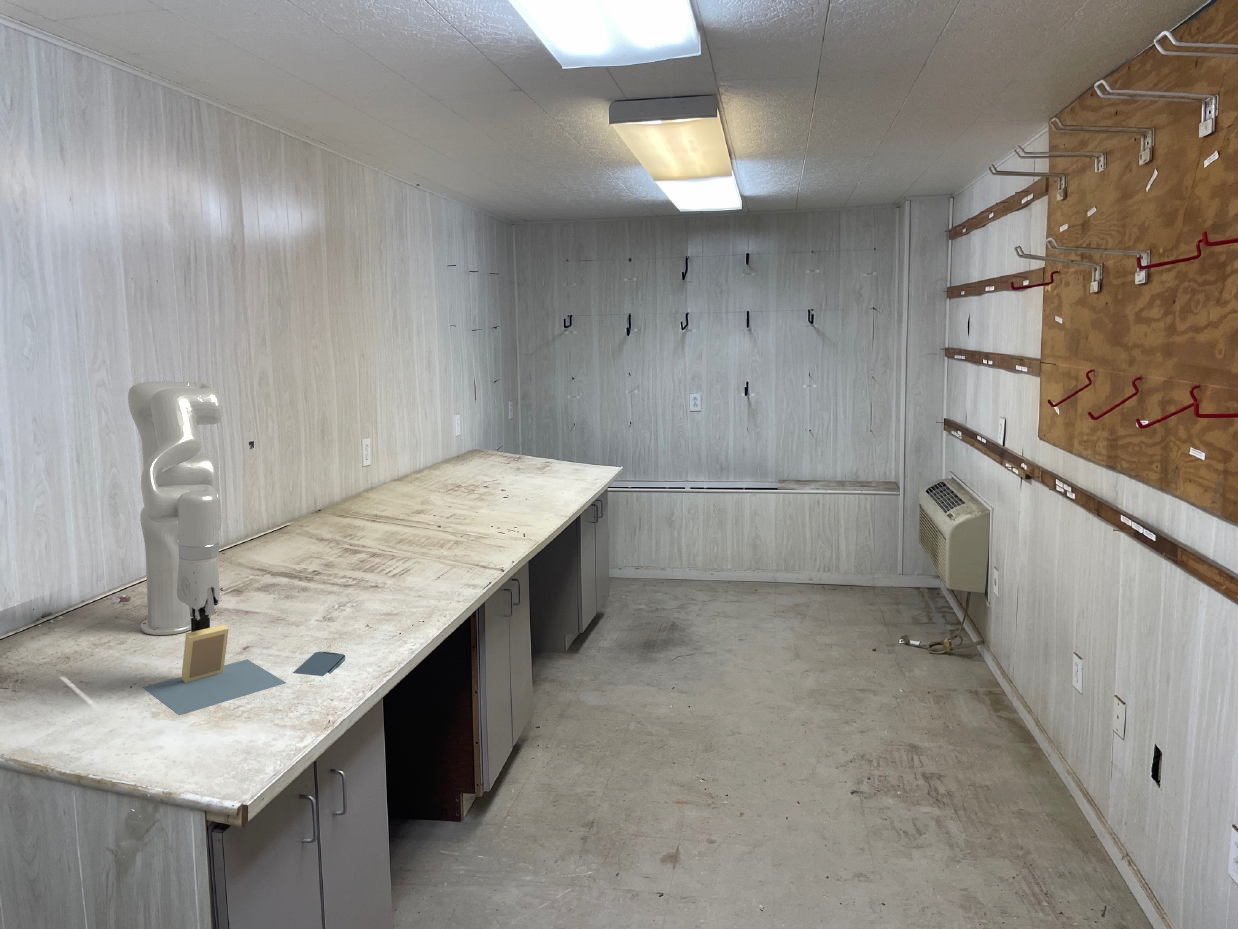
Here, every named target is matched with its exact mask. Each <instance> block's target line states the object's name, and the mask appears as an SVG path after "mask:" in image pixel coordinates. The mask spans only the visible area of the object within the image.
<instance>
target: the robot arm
mask: <svg viewBox="0 0 1238 929" xmlns="http://www.w3.org/2000/svg"><path fill="white" fill-rule="evenodd" d="M127 401H128V407H129V412H130V414H131V417H132V420H133V422H134V424H135V427H136V428H137V430H138V433H139V436H140V438H141V439H140V440H141V441H140V442H141V450H142V463H143V464H142V465H143V469H142V473H141V475H140V477H141V478H140V489H141V494H142V501H143V507H142V508H141V511H140V515H139V518H140V519H139V521H140V526H141V527H140V528H141V531H142V536H143V543H144V550H145V567H146V570H145V572H146V574H145V575H146V599H147V600H146V601H147V603H146V604H147V607H146V608H147V619H145V620H144V621H142V622H141V623H140V630H141V631H142V633H145V634H148V635H154V636H168V635H169V636H171V635H176V634H181V633H185V632H186V633H187V632H189V631H190V632H194V631H198V630H203V629H207V628H211V617H212V615H213V614H215V613H216V611H215V610H216V609H215V606H218V605H219V604H220V599H221V594H220V593H221V589H220V588H221V587H220V576H219V575H220V574H219V566H218V560H217V559H219V558H220V545H219V544H220V540H219V533H220V532H219V531H220V530H221V528H222V507H221V506H222V505H221V492H220V480H219V471H218V467H217V463H216V461H215V460H214V458H213V457H212V456H210V455H209V454H204V453H199V452H200V451H201V448H202V442H201V438H200V433H199V429H198V426H199V425H201V426H202V425H205V426H206V425H216V424H218V423H219V422H220V421H221V419H222V416H223V403H222V400H221V397H220V395H219V394H218V392H217V390H216V389H215V388H214V387H212V386H211V385H209V384H208V383H206V382H204V381H203V382H200V381H165V380H164V381H156V380H155V381H144V382H138V383H135V384H134V385H132V386H131V387H130V388H129V390H128V393H127Z"/></svg>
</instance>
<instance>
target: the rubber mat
mask: <svg viewBox="0 0 1238 929" xmlns="http://www.w3.org/2000/svg"><path fill="white" fill-rule="evenodd" d="M181 677H182V676H180V677H179V676H178V677H175V678H172V679H169V680H165V681H160V682H157V683H153V684H150V685H146V686H143V687H142V689H143V690H145V691H147V693H149V694H150V695H151V696H153V697H154V698H156V700H158V701H160V702H161V703H162V704H164V706H166V707H168V709H170V710H171V711H173V712H174V713H175V714H176V715H178V716H183V715H185V714H188V713H192V712H194V711H198V710H202V709H206V708H208V707H212V706H215V705H218V704H221V703H225V702H228V701H231V700H235V699H239V698H241V697H245V696H248V695H251V694H255V693H258V692H262V691H265V690H267V689H268V690H269V689H272V688H274V687H278V686H282V685H285V684H287V682H286V681H284V680H283V679H281V678H280V677H278V676H277V675H275V674H272V672H269V671H267V670H266V669H264V668H263V667H261V666H259V665H257V664H256V663H255V662H253V661H251V660H249V659H247V658H246V659H243V660H239V661H235V662H232V663H228V664H224V671H223V673H219V674H215V675H212V676H208V677H205V678H201V679H197V680H194V681H190V682H186V683H185V682H184V681H183V680H182V678H181Z"/></svg>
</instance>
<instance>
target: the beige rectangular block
mask: <svg viewBox="0 0 1238 929" xmlns="http://www.w3.org/2000/svg"><path fill="white" fill-rule="evenodd" d="M228 635H229V627H228V626H227V625H226V624H221V625H220V624H219V625H217V626H213V627H211V626H210V628H207V629H203V630H198V631H194V632H191V631H190V632H186V633H185V639H184V648H183V660H182V669H181V676H180V677H181V678H182V680H183V681H184V682H185V683H186V682H190V681H194V680H197V679H201V678H205V677H208V676H212V675H215V674H219V673H223V671H224V665H225V663H226V662H225V660H226V655H227V654H226V653H227V652H226V651H227V644H228Z"/></svg>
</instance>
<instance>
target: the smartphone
mask: <svg viewBox="0 0 1238 929" xmlns="http://www.w3.org/2000/svg"><path fill="white" fill-rule="evenodd" d="M345 661H346V655H345V653H338V652H328V651H315V652H313V654H312V655H310V657H308V658H307V659H306V660H305V661H304V662H303V663H302V664H300V665H299V666H298V667H297V668H296V669H295V670H294V671H293V672H292V674H296V675H298V674H299V675H308V676H314V677H315V676H317V677H324V676H325V675H326V674H329V675H330V674H332V673H333V672H334V671H335V670H337V668H338V667H339V666H341V665H342V663H343V662H345Z"/></svg>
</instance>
